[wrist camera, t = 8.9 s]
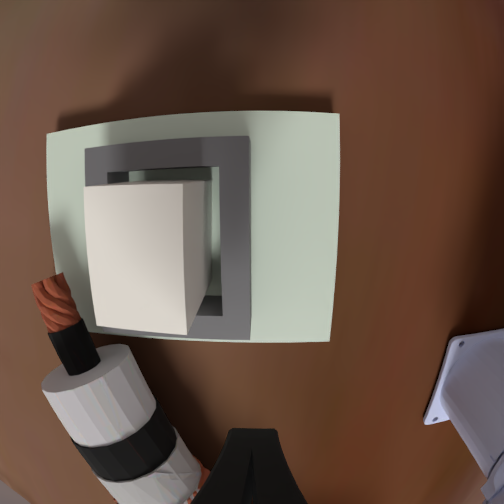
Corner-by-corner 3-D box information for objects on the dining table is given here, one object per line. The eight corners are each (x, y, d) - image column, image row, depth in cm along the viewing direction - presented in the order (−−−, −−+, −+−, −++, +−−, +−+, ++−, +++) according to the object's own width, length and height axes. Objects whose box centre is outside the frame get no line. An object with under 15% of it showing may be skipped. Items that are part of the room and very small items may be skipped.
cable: (127, 247, 21) (128, 246, 12) (268, 529, 26) (311, 585, 16) (6, 295, 17) (-61, 325, 8) (190, 560, 22) (219, 622, 13)
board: (333, 117, 15) (353, 103, 12) (325, 331, 18) (338, 365, 15) (58, 135, 16) (20, 131, 12) (76, 321, 19) (47, 347, 15)
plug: (212, 179, 15) (182, 183, 9) (212, 279, 16) (187, 335, 11) (144, 180, 15) (83, 186, 9) (147, 275, 16) (96, 325, 11)
